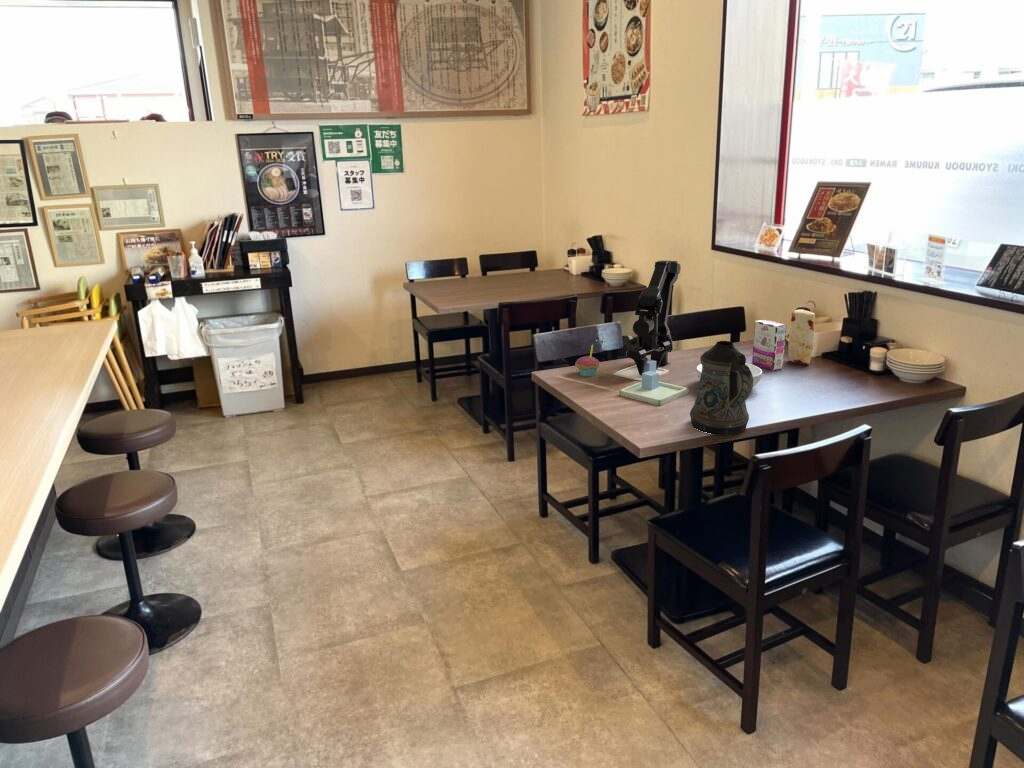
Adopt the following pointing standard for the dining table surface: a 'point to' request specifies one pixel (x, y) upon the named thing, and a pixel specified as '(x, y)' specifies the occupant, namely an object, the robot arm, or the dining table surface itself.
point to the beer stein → (722, 391)
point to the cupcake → (587, 364)
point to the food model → (801, 336)
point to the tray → (654, 393)
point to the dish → (636, 373)
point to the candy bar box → (769, 344)
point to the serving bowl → (754, 369)
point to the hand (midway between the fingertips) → (648, 372)
